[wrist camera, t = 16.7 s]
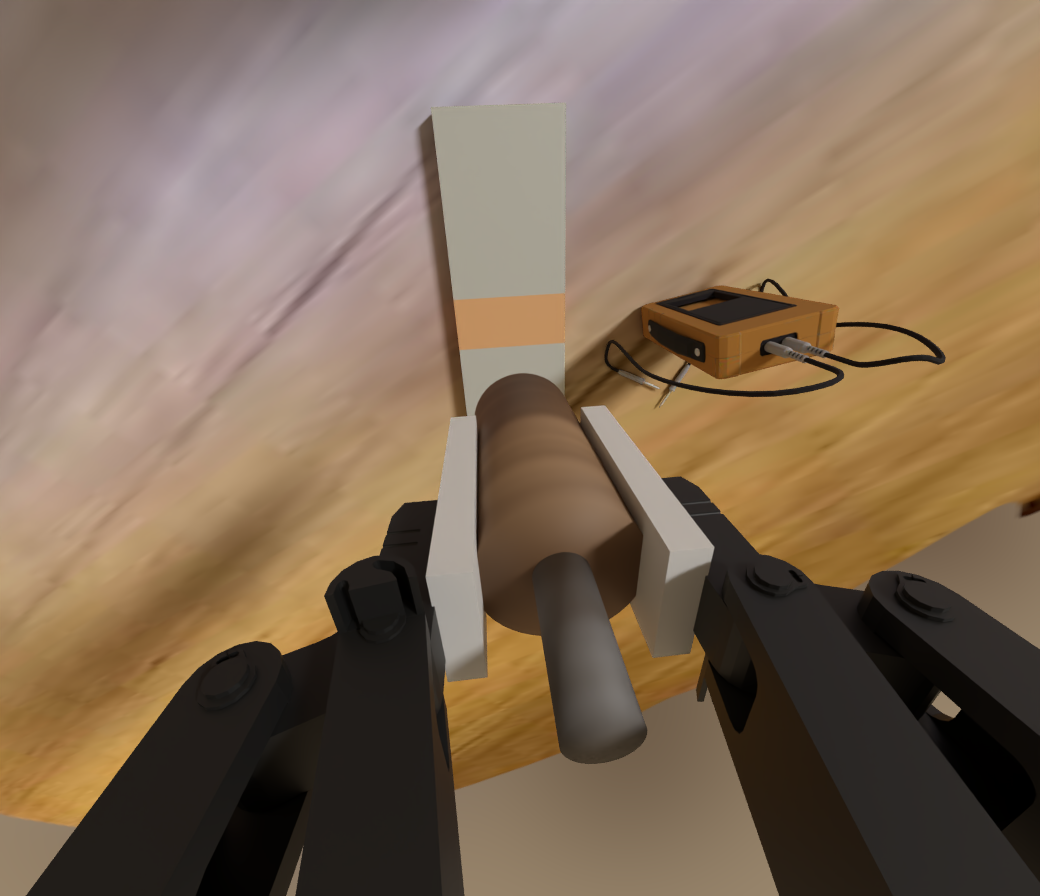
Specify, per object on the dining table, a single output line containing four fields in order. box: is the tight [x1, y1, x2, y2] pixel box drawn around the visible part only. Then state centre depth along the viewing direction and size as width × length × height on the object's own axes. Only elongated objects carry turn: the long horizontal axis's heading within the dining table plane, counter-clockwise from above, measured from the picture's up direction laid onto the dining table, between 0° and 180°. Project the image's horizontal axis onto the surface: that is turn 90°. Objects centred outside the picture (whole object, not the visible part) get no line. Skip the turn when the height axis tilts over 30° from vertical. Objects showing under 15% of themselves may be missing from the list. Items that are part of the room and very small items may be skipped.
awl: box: [475, 373, 647, 764], centre depth 10 cm, size 4×4×11 cm
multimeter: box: [605, 279, 945, 407], centre depth 28 cm, size 15×10×20 cm
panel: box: [431, 103, 566, 416], centre depth 33 cm, size 24×9×1 cm, turn 3°
